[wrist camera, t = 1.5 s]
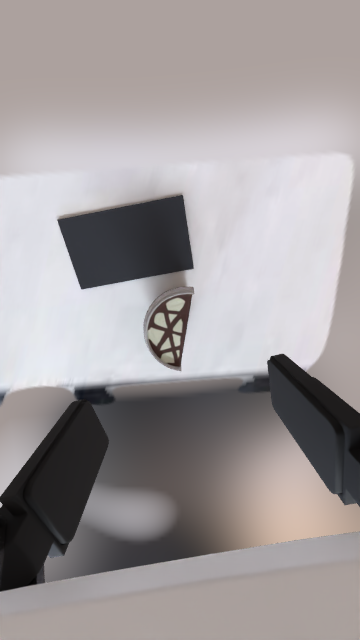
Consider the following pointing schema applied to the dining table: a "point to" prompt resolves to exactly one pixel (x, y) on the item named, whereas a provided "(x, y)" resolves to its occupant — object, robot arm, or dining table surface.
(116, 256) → the mat
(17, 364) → the dining table surface
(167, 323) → the food container
